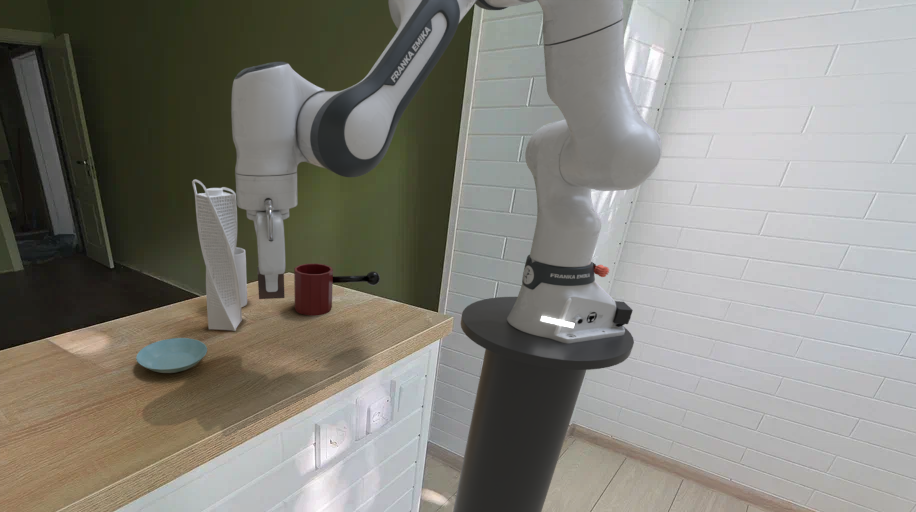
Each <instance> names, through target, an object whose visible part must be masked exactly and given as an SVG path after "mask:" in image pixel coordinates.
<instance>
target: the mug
mask: <svg viewBox="0 0 916 512" xmlns="http://www.w3.org/2000/svg"><path fill="white" fill-rule="evenodd" d="M246 255H247V254H246V249H244V248H242V247H237V246H236V252H235V259H234V261H235V265H236V270H237V275H238V281H239V289H240V298H241V308H243V307H246V306H247V305H248V282H247V281H248V280H247V256H246Z"/></svg>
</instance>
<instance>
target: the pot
mask: <svg viewBox="0 0 916 512" xmlns="http://www.w3.org/2000/svg"><path fill="white" fill-rule="evenodd" d="M293 272H294V273H293V274H294V275H293V276H294V277H293V279H294V280H293V281H294V283H293V284H294V288H293V289H294V310H295V312H297V313H298V314H301V315H303V316H309V317H310V316H311V317H312V316H314V317H315V316H323V315H326V314H328V313H330V312H331V311H332V308H333V285H334V284H345V283H346V284H348V283H367V284H368V285H369V286H376V285H378V284H379V283H380V281H381V276H380V274H379V272H377V271H373V270H372V271H370V272H368V273H367V274H365V275H336V276H335V275H334V269H333V267H332V266H330V265H328V264H323V263H304V264H303V263H302V264H299V265H296V266H295V267H294V268H293Z"/></svg>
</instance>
